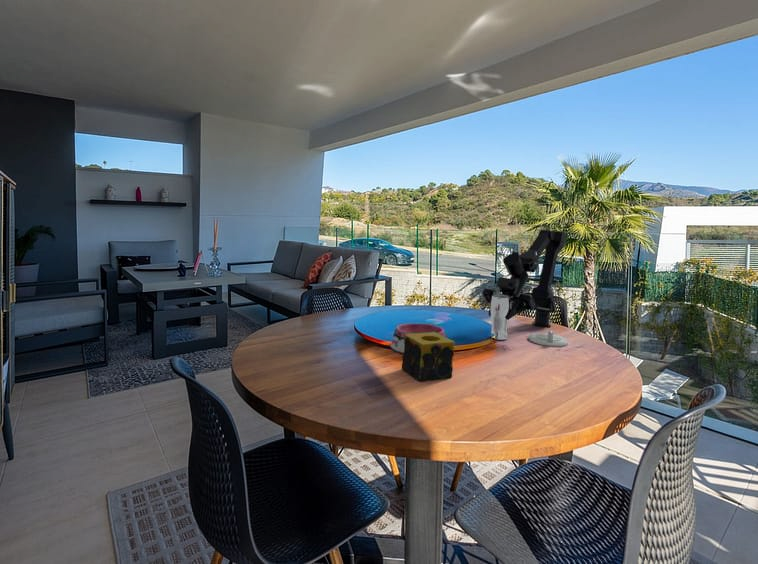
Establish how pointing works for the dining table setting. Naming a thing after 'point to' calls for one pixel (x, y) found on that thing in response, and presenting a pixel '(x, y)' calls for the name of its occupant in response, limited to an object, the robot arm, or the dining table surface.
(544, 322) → the robot arm
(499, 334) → the beer glass
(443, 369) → the candle
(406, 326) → the dog bowl
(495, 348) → the dining table surface
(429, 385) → the dining table surface
